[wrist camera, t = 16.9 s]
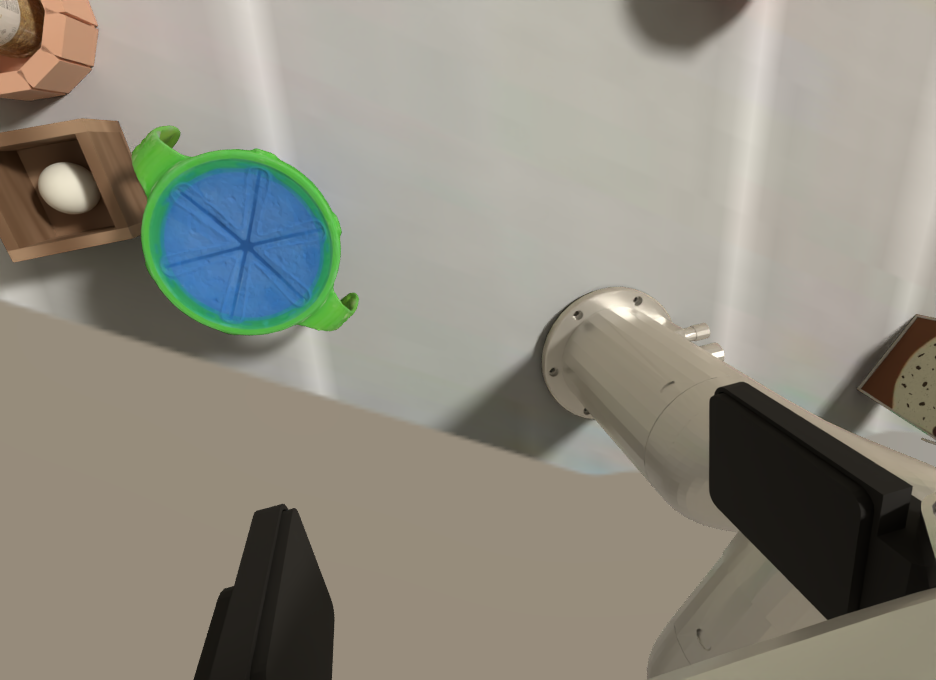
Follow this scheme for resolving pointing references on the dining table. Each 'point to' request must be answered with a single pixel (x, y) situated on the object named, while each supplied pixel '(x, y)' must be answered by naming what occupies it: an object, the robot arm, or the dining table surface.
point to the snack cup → (239, 239)
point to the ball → (68, 188)
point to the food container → (908, 376)
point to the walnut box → (48, 230)
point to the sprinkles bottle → (21, 27)
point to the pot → (54, 54)
